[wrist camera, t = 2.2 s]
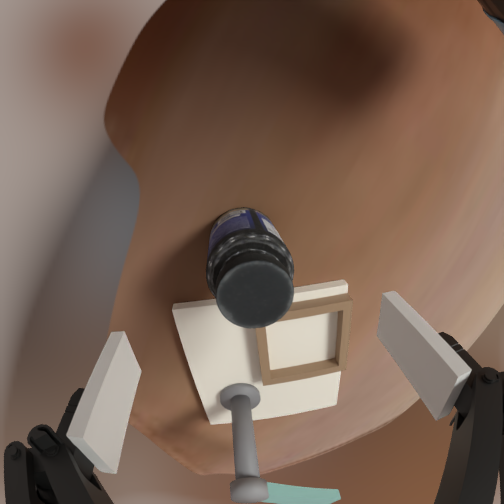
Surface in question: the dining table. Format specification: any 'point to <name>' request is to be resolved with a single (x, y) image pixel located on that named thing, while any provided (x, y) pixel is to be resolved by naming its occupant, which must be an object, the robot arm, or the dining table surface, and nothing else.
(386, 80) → the dining table surface
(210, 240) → the pill bottle
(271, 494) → the keeper arm
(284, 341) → the base board
